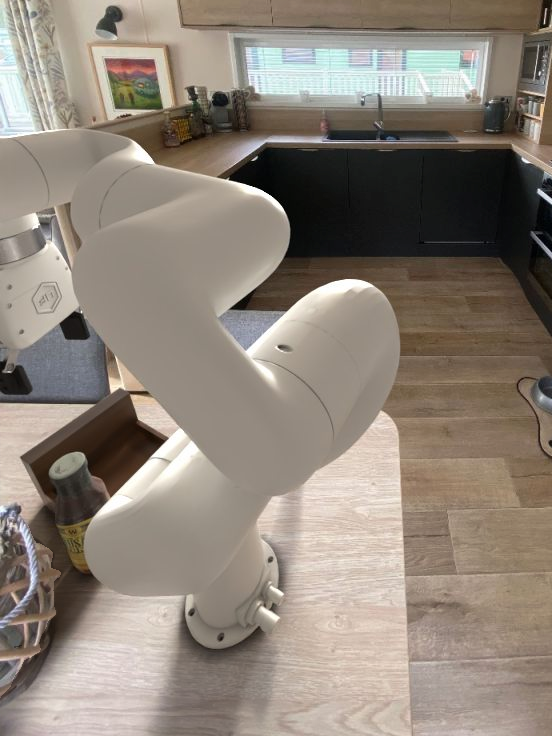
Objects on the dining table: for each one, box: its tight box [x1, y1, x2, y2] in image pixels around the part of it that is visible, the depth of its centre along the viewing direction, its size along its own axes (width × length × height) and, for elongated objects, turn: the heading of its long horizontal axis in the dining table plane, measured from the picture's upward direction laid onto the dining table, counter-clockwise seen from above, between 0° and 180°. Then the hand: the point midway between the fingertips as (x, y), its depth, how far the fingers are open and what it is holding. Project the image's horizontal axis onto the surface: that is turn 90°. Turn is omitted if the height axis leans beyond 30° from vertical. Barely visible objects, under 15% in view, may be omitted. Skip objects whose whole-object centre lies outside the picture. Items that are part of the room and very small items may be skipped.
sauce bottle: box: [49, 452, 110, 575], centre depth 57 cm, size 6×6×20 cm
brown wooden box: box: [19, 387, 170, 514], centre depth 69 cm, size 12×16×12 cm
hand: (51, 363), depth 50 cm, fingers open, 9 cm apart
